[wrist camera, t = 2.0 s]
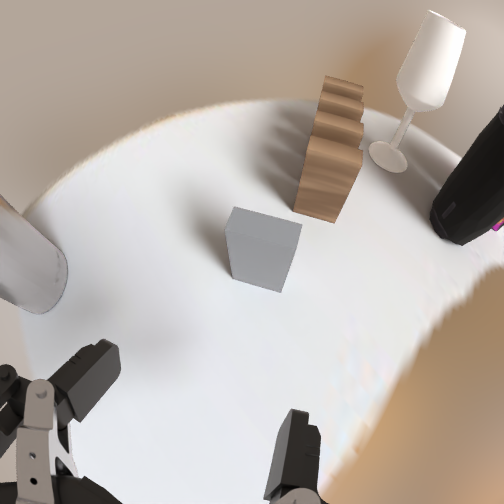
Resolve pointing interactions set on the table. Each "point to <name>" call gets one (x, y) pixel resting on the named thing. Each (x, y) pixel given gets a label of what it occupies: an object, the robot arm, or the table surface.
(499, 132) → the portable speaker
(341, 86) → the walnut domino
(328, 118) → the walnut domino
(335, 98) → the walnut domino
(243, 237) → the grey domino
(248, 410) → the table surface
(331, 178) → the walnut domino
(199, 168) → the table surface
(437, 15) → the champagne flute
